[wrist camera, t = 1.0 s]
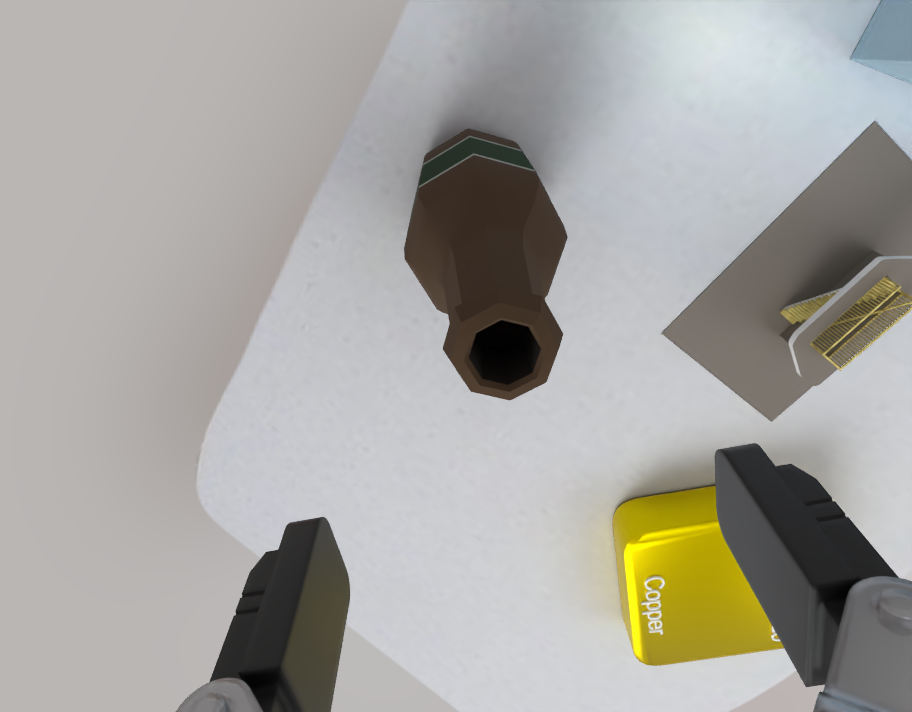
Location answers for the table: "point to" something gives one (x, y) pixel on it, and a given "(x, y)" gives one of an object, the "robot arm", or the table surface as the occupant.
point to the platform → (811, 282)
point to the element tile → (684, 582)
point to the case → (888, 40)
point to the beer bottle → (488, 261)
